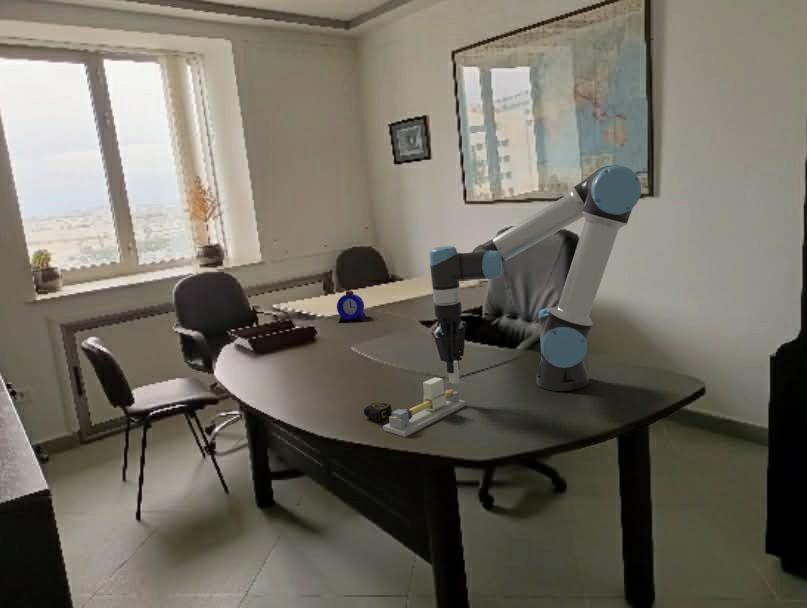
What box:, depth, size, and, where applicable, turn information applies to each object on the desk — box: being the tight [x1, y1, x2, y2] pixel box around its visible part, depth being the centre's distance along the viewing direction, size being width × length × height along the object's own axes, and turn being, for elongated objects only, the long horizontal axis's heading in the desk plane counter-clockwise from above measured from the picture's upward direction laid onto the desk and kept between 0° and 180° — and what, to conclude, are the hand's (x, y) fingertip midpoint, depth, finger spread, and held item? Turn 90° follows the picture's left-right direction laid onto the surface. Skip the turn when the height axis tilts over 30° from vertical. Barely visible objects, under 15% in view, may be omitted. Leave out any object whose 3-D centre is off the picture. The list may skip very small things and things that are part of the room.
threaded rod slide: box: [382, 389, 467, 438], centre depth 167 cm, size 25×8×5 cm, turn 135°
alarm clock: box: [336, 290, 367, 324], centre depth 299 cm, size 12×12×15 cm
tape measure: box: [363, 401, 393, 422], centre depth 171 cm, size 7×7×4 cm
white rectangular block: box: [422, 376, 447, 412], centre depth 169 cm, size 5×4×8 cm
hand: (454, 382), depth 175 cm, fingers closed
